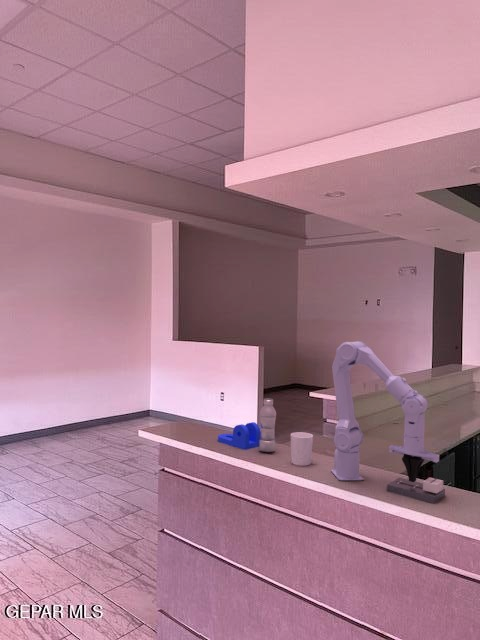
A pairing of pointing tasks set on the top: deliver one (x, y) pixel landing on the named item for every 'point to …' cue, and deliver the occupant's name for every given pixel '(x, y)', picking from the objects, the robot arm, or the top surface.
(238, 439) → the bracket
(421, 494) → the strip
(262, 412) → the plastic bottle
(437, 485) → the fader knob
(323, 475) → the top surface
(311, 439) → the white cup
